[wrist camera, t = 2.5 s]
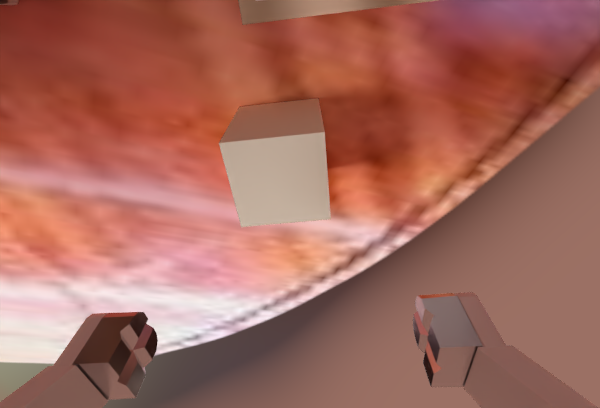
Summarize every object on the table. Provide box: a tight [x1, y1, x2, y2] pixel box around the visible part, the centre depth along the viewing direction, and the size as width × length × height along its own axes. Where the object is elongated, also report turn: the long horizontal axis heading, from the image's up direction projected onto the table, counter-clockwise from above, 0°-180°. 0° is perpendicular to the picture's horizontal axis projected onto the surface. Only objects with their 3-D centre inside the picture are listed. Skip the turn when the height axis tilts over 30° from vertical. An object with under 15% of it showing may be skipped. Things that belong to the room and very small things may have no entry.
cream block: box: [219, 98, 331, 227], centre depth 18 cm, size 5×5×6 cm
